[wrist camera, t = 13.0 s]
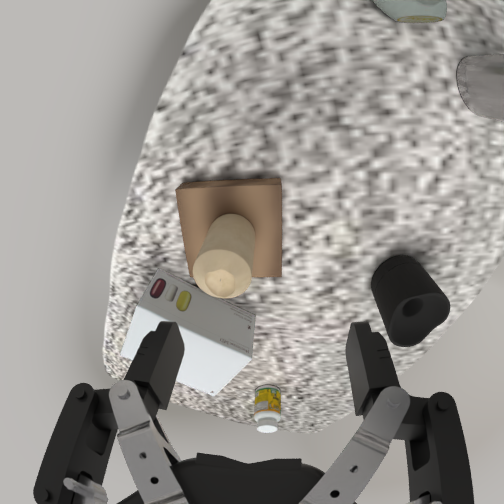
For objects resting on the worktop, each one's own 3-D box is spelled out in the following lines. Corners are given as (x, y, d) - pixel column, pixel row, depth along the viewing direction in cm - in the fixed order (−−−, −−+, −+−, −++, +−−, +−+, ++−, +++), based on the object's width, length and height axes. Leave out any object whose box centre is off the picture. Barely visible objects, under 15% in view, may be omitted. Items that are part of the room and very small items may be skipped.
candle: (200, 229, 33) (176, 277, 24) (236, 204, 31) (224, 246, 22) (228, 262, 35) (215, 316, 26) (264, 240, 33) (263, 291, 24)
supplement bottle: (251, 387, 53) (248, 426, 45) (274, 382, 52) (274, 422, 44) (261, 398, 56) (260, 435, 47) (284, 393, 54) (284, 431, 46)
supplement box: (257, 313, 43) (254, 359, 35) (221, 356, 49) (214, 398, 41) (158, 265, 40) (135, 305, 31) (137, 318, 45) (118, 356, 37)
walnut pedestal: (280, 178, 32) (281, 185, 30) (280, 264, 38) (281, 276, 35) (182, 182, 33) (175, 189, 30) (195, 265, 39) (190, 277, 36)
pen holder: (418, 294, 40) (442, 336, 31) (368, 307, 41) (385, 353, 33) (423, 246, 35) (455, 285, 27) (367, 258, 37) (391, 303, 28)
